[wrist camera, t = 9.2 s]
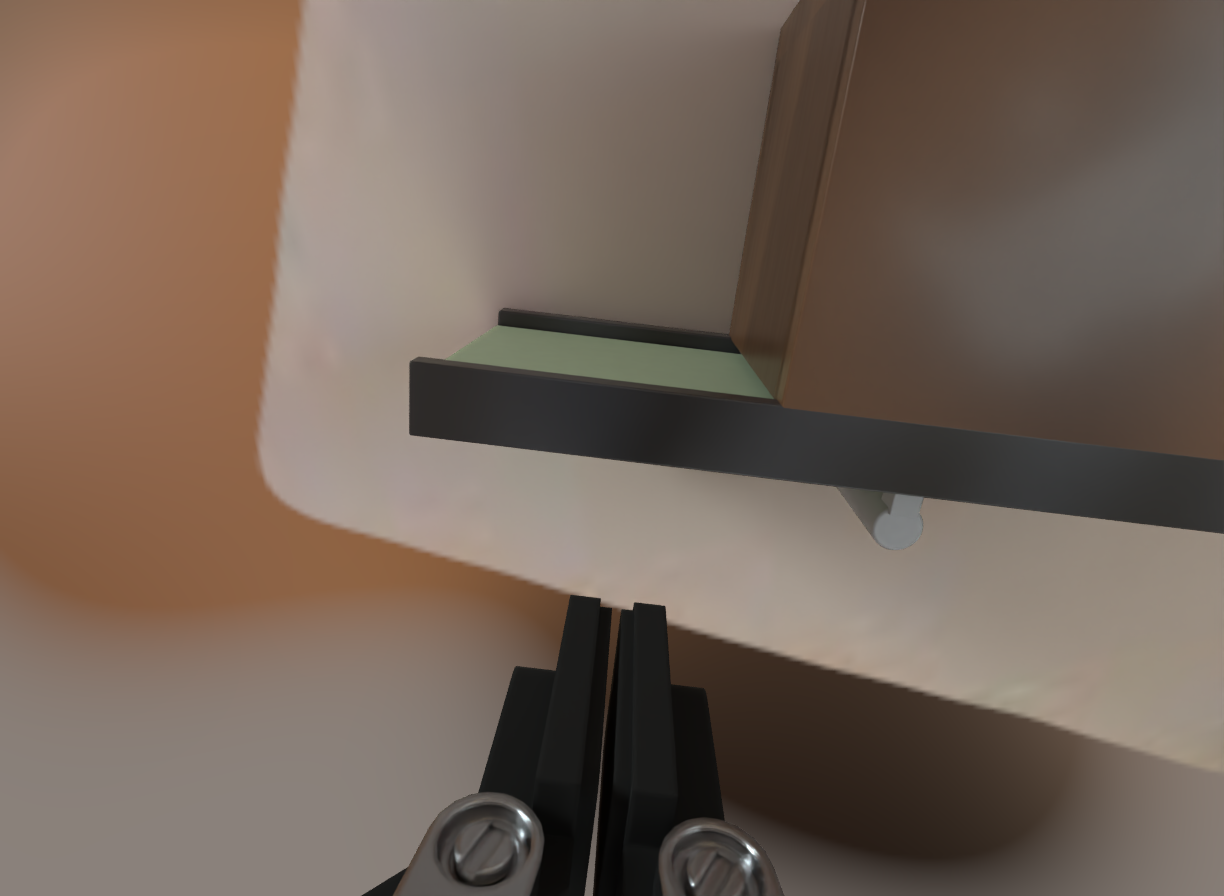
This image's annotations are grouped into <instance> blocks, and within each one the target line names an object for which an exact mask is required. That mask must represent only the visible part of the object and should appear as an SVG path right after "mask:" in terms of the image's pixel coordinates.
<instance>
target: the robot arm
mask: <svg viewBox="0 0 1224 896" xmlns="http://www.w3.org/2000/svg"><path fill="white" fill-rule="evenodd" d="M600 602H601V598H593V597H585V596H576V595H570V600H569V606H568V610H567V616H566V621H565V626H564V631H563V637H562V642H561V647H560V653H559V657H558V663H557V668H556V671H552V670H544V669H537V668H527V667H520V666H516V667H515V669H514V671H513V674H512V678H511V681H510V685H509V688H508V692H507V695H506V699H505V702H504V705H503V709H502V712H501V716H500V719H499V723H498V726H497V730H496V734H495V737H494V740H493V744H492V747H491V751H490V754H489V758H488V761H487V764H486V768H485V772H484V775H483V778H482V782H481V785H480V789H479V792H478V793H477V794H471V795H468V796H466V797H463V798H461V799H459V800H456V801H454V802H453V803H452V804H450V805H449V806H448V807H446V808H445V809H444V810H443V811H441V812H440V813H439V815H438V816H437V817H436V819H435V820H434V821H433V823H432V824H431V826H430V827H429V829H428V830H427V833H426V834H425V836H424V838H423V840H422V842H421V844H420V846H419V847H418V849H417V851H416V853H415V855H414V857H413V859H412V860H411V863H410V864H409V866H408V867H407V868H406V869H404V870H402V871H401V872H399V873H398V874H396V875H395V876H393V877H391V878H389V879H388V880H386V881H385V882H383V883H381V884H380V885H378V886H376V887H375V888H373V889H372V890H370V891H368V892H367V893H365V894H363V895H362V896H584V893H585V885H586V878H587V871H588V863H589V856H590V848H591V840H592V833H593V825H594V817H595V810H596V802H597V794H598V785H599V774H600V762H601V749H602V735H603V722H604V709H605V695H606V682H607V681H606V680H607V669H608V655H609V642H610V627H611V615H612V608H607V607H600ZM604 739H605V740H604V749H603V761H602V777H601V790H600V804H599V818H598V832H597V846H596V861H595V874H594V888H593V896H784V894H783V891H782V888H781V886H780V883H779V880H778V877H777V874H776V872H775V869H774V867H773V865H772V863H771V861H770V859H769V857H768V855H767V854H766V851H765V850H764V849H763V848H762V847H761V846H760V845H759V844H758V842H757V841H756V840H755V839H754V838H753V837H752V836H750V835H749V834H748V833H746V832H745V831H743V830H742V829H740V828H739V827H738V826H736V825H733V824H731V823H728V822H725V820H724V813H723V806H722V799H721V792H720V785H719V778H718V771H717V764H716V757H715V750H714V743H713V736H712V729H711V722H710V715H709V708H708V702H707V696H706V691H705V689H704V688H697V687H688V686H680V685H672V684H671V682H670V666H669V651H668V637H667V621H666V608H665V606H661V605H653V604H644V603H636V602H635V603H634V607H633V611H632V610H624V609H622V610H621V616H620V624H619V631H618V639H617V647H616V654H615V662H614V669H613V677H612V684H611V692H610V700H609V707H608V715H607V722H606V730H605V738H604Z"/></svg>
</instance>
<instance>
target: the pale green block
mask: <svg viewBox="0 0 1224 896" xmlns="http://www.w3.org/2000/svg"><path fill="white" fill-rule="evenodd" d="M445 360H451V361H460V362H468V363H477V364H485V365H493V366H502V367H510V368H518V369H527V370H535V371H544V372H552V373H560V374H569V375H577V376H585V377H594V378H602V379H611V380H619V381H627V382H636V383H644V384H652V385H661V386H669V387H678V388H686V389H694V390H703V391H711V392H719V393H728V394H736V395H745V396H753V397H761V398H770V399H774V398H773V397H772V395H771V394H770V393H769V391H768V390H767V388H766V387H765V386H764V384H763V383H762V382H761V380H760V379H759V377H758V376H757V375H756V373H755V372H754V371H753V369H752V368H751V366H750V365H749V364H748V362H747V361H746V359H745V358H744V357H743V355H742V354H735V353H726V352H718V351H710V350H701V349H693V348H684V347H676V346H667V345H659V344H650V343H642V342H634V341H625V340H617V339H608V338H600V337H591V336H583V335H575V334H566V333H558V332H549V331H541V330H532V329H524V328H515V327H507V326H499V325H498V326H495V327H494V328H492V329H491V330H489V331H488V332H486V333H485V334H483V335H482V336H480V337H478V338H477V339H475V340H474V341H472V342H471V343H469V344H468V345H466V346H465V347H463V348H462V349H460V350H459V351H457V352H456V353H454V354H453V355H451V356H450V357H448V358H447V359H445ZM837 488H838V490H839V491H840V493H841V494H842V495H843V497H844V498H845V500H846V501H847V502H848V504H849V505H850V507H851V508H852V509H853V511H854V512H855V513H856V515H857V516H858V518H859V519H860V520H861V522H862V523H863V525H864V526H865V527H866V529H867V530H868V532H869V533H870V534H871V536H872V537H873V539H874V540H875V541H876V542H877V543H878V544H879V545H880V546H882V547H884V548H886V549H891V550H900V549H904V548H907V547H909V546H911V545H912V544H914V543H915V542H916V541H917V540H918V538H919V537H920V535H921V533H922V530H923V520H922V517H921V515H920V513H919V512H920V508H921V505H922V502H923V498H924V497H917V496H908V495H900V494H892V493H884V492H875V491H867V490H859V489H851V488H842V487H837Z"/></svg>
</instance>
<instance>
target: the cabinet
mask: <svg viewBox="0 0 1224 896" xmlns="http://www.w3.org/2000/svg"><path fill="white" fill-rule="evenodd" d="M498 325H499V326H507V327H515V328H524V329H532V330H541V331H549V332H558V333H566V334H575V335H583V336H591V337H600V338H608V339H617V340H625V341H634V342H642V343H650V344H659V345H667V346H676V347H684V348H693V349H701V350H710V351H718V352H726V353H735V354H742V355H743V357H744V358H745V359H746V361H747V362H748V364H749V365H750V366H751V368H752V369H753V371H754V372H755V373H756V375H757V376H758V377H759V379H760V380H761V382H762V383H763V384H764V386H765V387H766V388H767V390H768V391H769V393H770V394H771V395H772V397H773V398H774V399H770V398H761V397H753V396H745V395H736V394H728V393H719V392H711V391H703V390H694V389H686V388H678V387H669V386H661V385H652V384H644V383H636V382H627V381H619V380H611V379H602V378H594V377H585V376H577V375H569V374H560V373H552V372H544V371H535V370H527V369H518V368H510V367H502V366H493V365H485V364H477V363H468V362H460V361H451V360H443V359H435V358H426V357H417V358H415V359H413V360H412V361H410V381H409V434H410V435H413V436H422V437H430V438H438V439H446V440H455V441H463V442H471V443H479V444H488V445H496V446H504V447H512V448H521V449H529V450H537V451H545V452H554V453H562V454H570V455H578V456H587V457H595V458H603V459H611V460H620V461H628V462H636V463H644V464H653V465H661V466H669V467H677V468H686V469H694V470H702V471H710V472H719V473H727V474H735V475H743V476H752V477H760V478H768V479H776V480H785V481H793V482H801V483H809V484H818V485H826V486H834V487H842V488H851V489H859V490H867V491H875V492H884V493H892V494H900V495H908V496H917V497H925V498H933V499H941V500H950V501H958V502H966V503H974V504H983V505H991V506H999V507H1007V508H1016V509H1024V510H1032V511H1040V512H1049V513H1057V514H1065V515H1073V516H1082V517H1090V518H1098V519H1106V520H1115V521H1123V522H1131V523H1139V524H1148V525H1156V526H1164V527H1172V528H1181V529H1189V530H1197V531H1205V532H1214V533H1222V534H1224V0H800V1H799V2H798V4H797V5H796V7H795V8H794V10H793V11H792V13H791V14H790V16H789V17H788V19H787V20H786V22H785V23H784V25H783V26H782V28H781V32H780V38H779V43H778V49H777V55H776V61H775V67H774V73H773V79H772V85H771V91H770V96H769V102H768V108H767V114H766V120H765V126H764V132H763V138H762V143H761V149H760V155H759V161H758V167H757V173H756V179H755V185H754V190H753V196H752V202H751V208H750V214H749V220H748V226H747V232H746V238H745V243H744V249H743V255H742V261H741V267H740V273H739V279H738V285H737V290H736V296H735V302H734V308H733V314H732V320H731V326H730V332H729V334H720V333H712V332H703V331H695V330H686V329H678V328H669V327H661V326H653V325H644V324H636V323H627V322H619V321H610V320H602V319H593V318H585V317H576V316H568V315H559V314H551V313H542V312H534V311H525V310H517V309H509V308H503V309H502V310H500V311H499V317H498Z"/></svg>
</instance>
